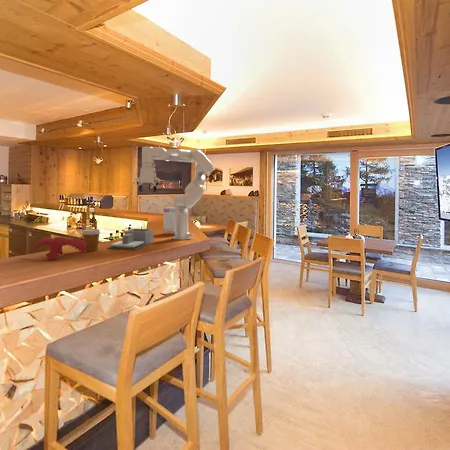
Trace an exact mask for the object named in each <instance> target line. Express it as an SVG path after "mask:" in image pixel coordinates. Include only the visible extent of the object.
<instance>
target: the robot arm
mask: <svg viewBox="0 0 450 450" xmlns="http://www.w3.org/2000/svg"><path fill="white" fill-rule="evenodd" d="M155 161H168V162H169V161H170V162H182V163H183V162H184V163H196V164H195V166H194V171H195V175H194V178H193V179H192V180H191V181H190V182H189V184H187V186H186V187H185V189H184V194H178V195H176V196H175V197H174V200H173V205H174V206H173V207H175V235H174V236H172V239H174V240H184V241H185V240H190V239H191V237H193V238H194V236H195V234H194V233H190V231H189V209H191V208H193V207H194V206H195V205H196V204H197V202H199V200H200V199H201V198H202V196H203V195H204V187H203V186H204V185H205V183H206V178H207V177H206V176H207V175H209V174H211V173H213V171H214V165H213V163H212V162H211V161H210V160H209V158H208V157H207V156H206V155H205V153H203V151H202V150H200V149H194V150H193V149H181V148H171V149H170V148H168V149H167V148H166V149H165V148H164V147H161V146H157V147H156V146H154V147H153V146H142V149H141V167H140V173H139V176H138V177H136V178H135V179H134V180H135V182H136V184H137V185H138V190H139V192H140V193H143V189H144V188H143V184H152V185H153V193H156V192H157V191H158V185H160V183H161V179H160V178H159V177H157V172H156V171H157V170H156V168H155V167H156V166H157V165H156V164H155Z"/></svg>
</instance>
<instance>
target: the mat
mask: <svg viewBox="0 0 450 450" xmlns="http://www.w3.org/2000/svg"><path fill="white" fill-rule="evenodd" d="M148 245H149V243H148V244H141V245H139V246H137V247H134V248H122V247H115V246H111V245H110V246H109V247H107V248H106V250H107V249H109V250H126V251H137V250H139V249H142V248H144V247H146V246H148Z"/></svg>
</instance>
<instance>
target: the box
mask: <svg viewBox="0 0 450 450" xmlns="http://www.w3.org/2000/svg"><path fill="white" fill-rule="evenodd" d="M125 234H134V241H144V243H143V244H148V245H149V244H150V243H152V242H154V229H152V228H151V229H150V228H134V227H133V228H131V229H128V230H125V231H124V235H125Z"/></svg>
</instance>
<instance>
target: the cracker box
mask: <svg viewBox="0 0 450 450" xmlns="http://www.w3.org/2000/svg"><path fill="white" fill-rule="evenodd" d="M163 235H174V236H175V207H174V206H172V207H170V206H169V207H168V206H166V207H163Z"/></svg>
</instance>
